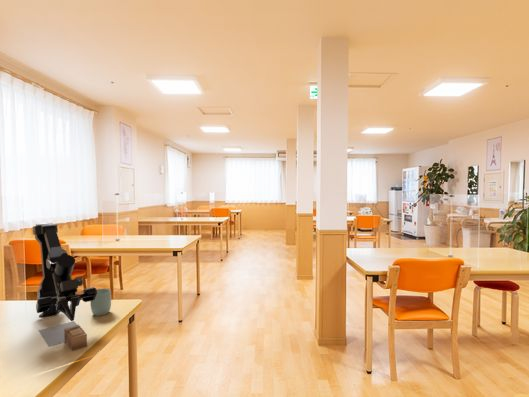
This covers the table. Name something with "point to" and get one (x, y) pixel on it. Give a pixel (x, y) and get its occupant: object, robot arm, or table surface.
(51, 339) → the mat
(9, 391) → the table surface
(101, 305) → the cup
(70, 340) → the block
